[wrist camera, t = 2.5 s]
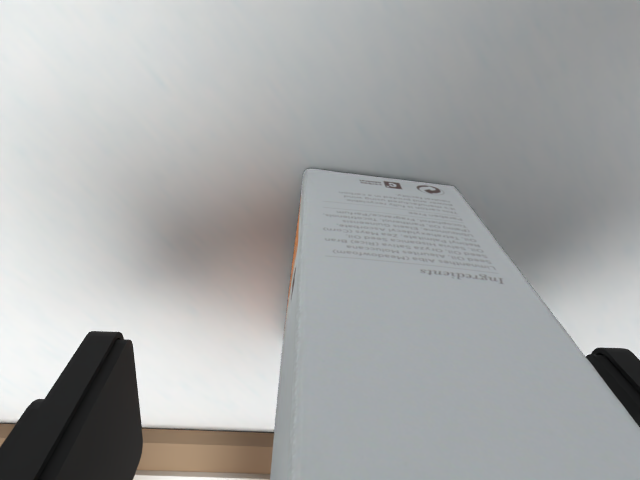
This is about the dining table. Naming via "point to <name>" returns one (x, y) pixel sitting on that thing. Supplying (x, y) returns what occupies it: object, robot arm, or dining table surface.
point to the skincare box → (429, 351)
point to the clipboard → (199, 454)
